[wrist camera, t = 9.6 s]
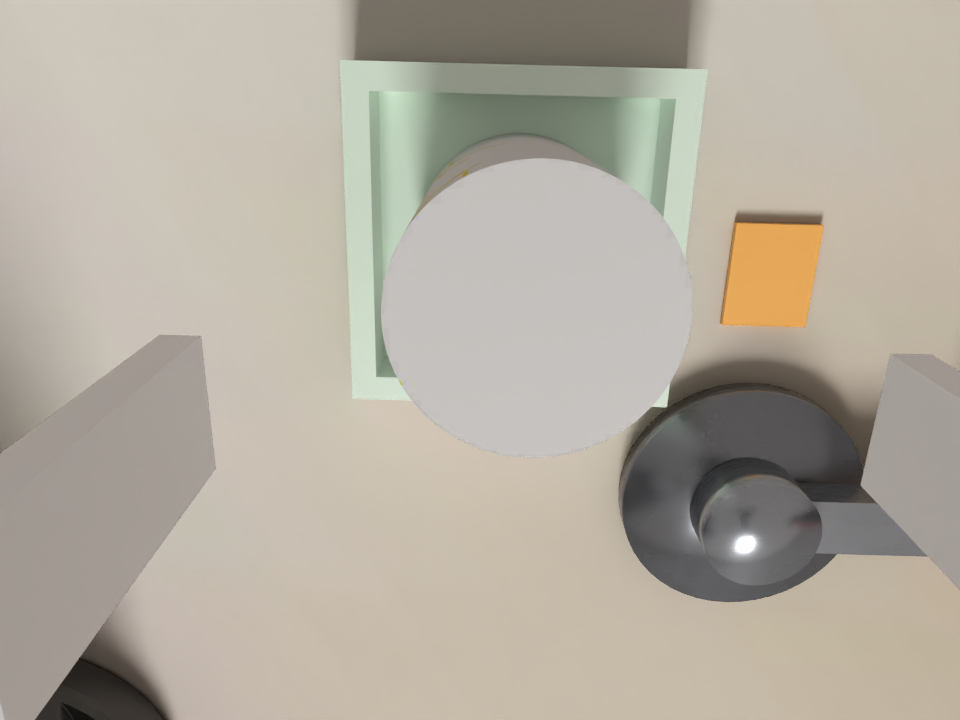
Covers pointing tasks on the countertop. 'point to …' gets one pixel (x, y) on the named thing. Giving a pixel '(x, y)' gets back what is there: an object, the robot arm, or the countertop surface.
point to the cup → (534, 300)
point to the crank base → (707, 445)
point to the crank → (785, 522)
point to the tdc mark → (771, 274)
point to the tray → (486, 113)
